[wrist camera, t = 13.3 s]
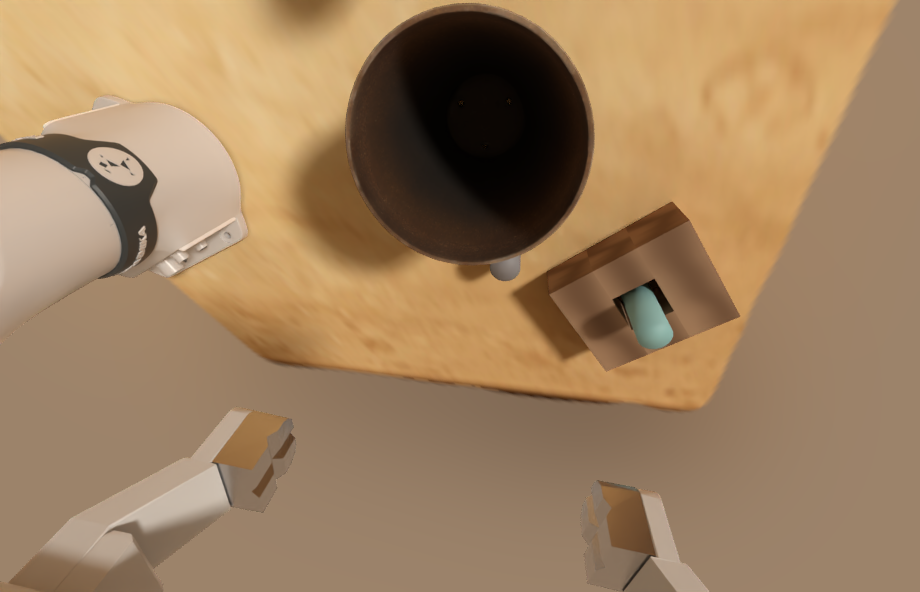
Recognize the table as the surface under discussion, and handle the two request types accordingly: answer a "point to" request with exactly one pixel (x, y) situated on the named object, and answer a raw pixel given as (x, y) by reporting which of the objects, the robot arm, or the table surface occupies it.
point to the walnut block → (631, 265)
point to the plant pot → (469, 134)
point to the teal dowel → (647, 317)
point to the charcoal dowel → (506, 269)
